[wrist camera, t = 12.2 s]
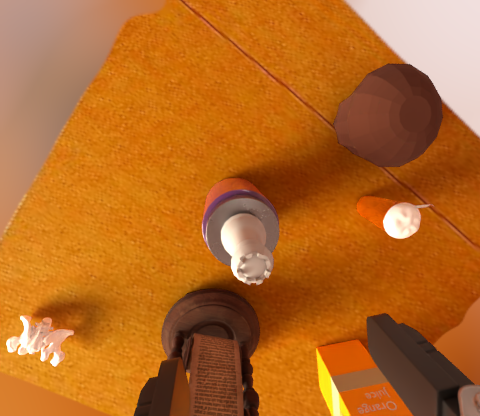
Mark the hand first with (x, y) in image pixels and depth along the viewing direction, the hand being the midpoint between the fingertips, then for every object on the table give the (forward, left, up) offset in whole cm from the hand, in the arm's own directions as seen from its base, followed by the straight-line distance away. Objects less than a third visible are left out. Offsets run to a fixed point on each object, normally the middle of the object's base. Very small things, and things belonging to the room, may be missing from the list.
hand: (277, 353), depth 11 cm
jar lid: (0, 0, -17) cm, 17 cm away
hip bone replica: (+14, -31, -28) cm, 44 cm away
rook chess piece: (0, 0, -16) cm, 16 cm away
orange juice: (+32, +13, -28) cm, 45 cm away
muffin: (-8, +20, -28) cm, 36 cm away
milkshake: (+4, +20, -28) cm, 35 cm away
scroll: (+19, -7, -28) cm, 35 cm away
